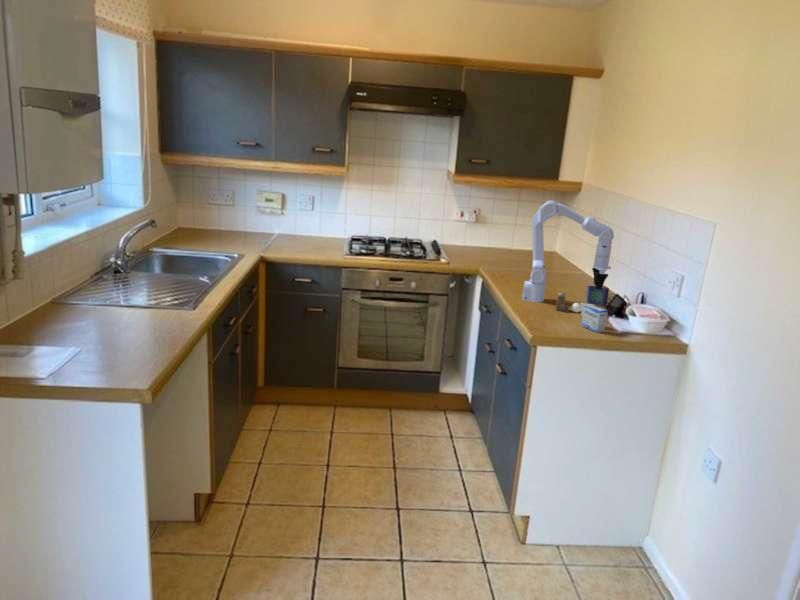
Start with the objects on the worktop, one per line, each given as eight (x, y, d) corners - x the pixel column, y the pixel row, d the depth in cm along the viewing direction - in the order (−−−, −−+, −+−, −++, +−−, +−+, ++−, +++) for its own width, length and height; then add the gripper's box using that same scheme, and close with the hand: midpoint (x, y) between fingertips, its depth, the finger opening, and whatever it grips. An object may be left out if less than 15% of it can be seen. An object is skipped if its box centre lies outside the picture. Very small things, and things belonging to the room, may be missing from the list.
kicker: (555, 311, 247) (558, 294, 245) (555, 307, 252) (557, 291, 250) (568, 312, 246) (570, 296, 244) (567, 309, 251) (570, 293, 249)
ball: (570, 313, 246) (572, 303, 245) (570, 310, 250) (571, 301, 249) (580, 314, 246) (582, 304, 245) (580, 311, 249) (581, 302, 248)
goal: (581, 316, 243) (582, 309, 242) (579, 309, 252) (580, 303, 251) (594, 317, 242) (596, 310, 241) (593, 311, 251) (594, 304, 250)
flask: (584, 304, 263) (587, 280, 260) (585, 303, 266) (589, 279, 263) (605, 308, 259) (609, 284, 256) (607, 307, 261) (610, 283, 258)
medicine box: (580, 326, 231) (584, 305, 229) (588, 325, 233) (592, 304, 231) (596, 333, 225) (600, 311, 222) (604, 331, 227) (608, 309, 225)
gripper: (614, 260, 242) (609, 292, 246) (610, 253, 255) (605, 284, 259) (596, 258, 243) (591, 290, 247) (593, 251, 257) (588, 282, 261)
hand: (597, 287), depth 253 cm, fingers open, 7 cm apart
